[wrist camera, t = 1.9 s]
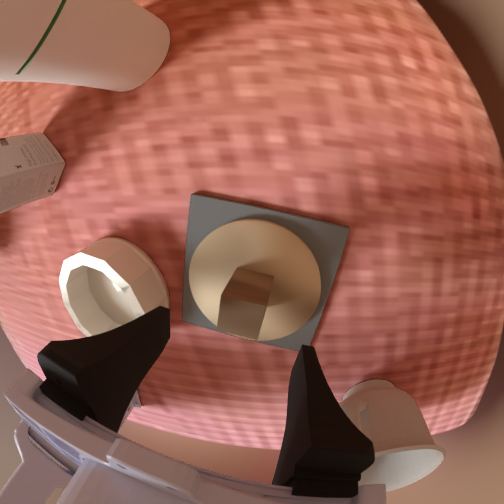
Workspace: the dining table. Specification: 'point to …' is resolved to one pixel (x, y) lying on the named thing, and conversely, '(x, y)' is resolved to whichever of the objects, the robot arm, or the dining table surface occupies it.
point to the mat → (308, 229)
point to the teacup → (392, 434)
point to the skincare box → (27, 169)
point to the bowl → (111, 285)
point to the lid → (255, 279)
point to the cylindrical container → (81, 42)
